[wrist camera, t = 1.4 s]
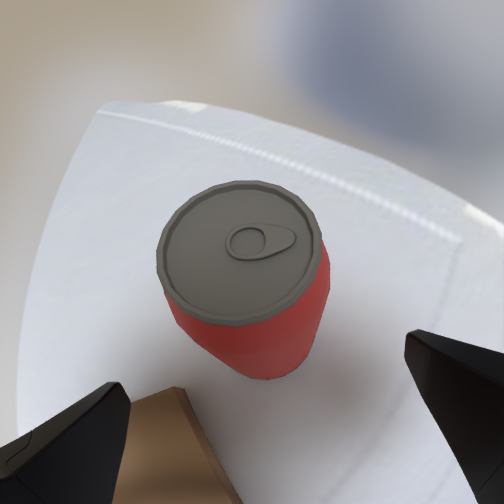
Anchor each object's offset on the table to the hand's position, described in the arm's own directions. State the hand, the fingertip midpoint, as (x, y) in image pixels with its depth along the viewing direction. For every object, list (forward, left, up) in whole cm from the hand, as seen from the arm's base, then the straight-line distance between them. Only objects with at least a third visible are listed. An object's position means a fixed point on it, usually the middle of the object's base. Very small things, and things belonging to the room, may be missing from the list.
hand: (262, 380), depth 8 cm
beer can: (+4, -1, -11) cm, 12 cm away
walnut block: (-4, +13, -12) cm, 18 cm away
